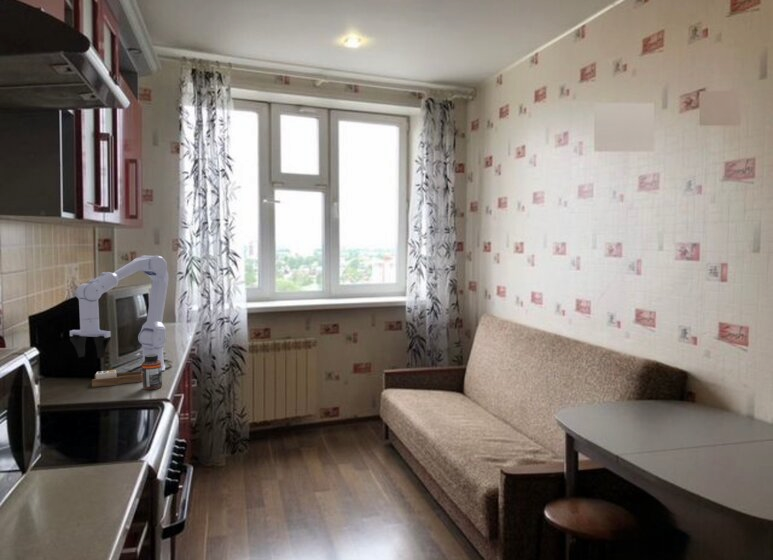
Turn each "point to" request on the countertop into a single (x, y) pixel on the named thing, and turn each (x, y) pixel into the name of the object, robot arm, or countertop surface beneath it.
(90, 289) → the robot arm
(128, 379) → the brown wooden frame
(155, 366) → the supplement bottle
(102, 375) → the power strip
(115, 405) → the countertop surface
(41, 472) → the countertop surface
